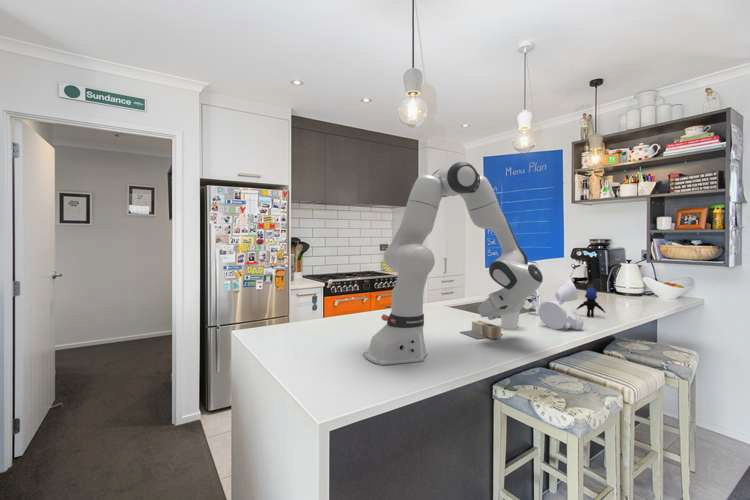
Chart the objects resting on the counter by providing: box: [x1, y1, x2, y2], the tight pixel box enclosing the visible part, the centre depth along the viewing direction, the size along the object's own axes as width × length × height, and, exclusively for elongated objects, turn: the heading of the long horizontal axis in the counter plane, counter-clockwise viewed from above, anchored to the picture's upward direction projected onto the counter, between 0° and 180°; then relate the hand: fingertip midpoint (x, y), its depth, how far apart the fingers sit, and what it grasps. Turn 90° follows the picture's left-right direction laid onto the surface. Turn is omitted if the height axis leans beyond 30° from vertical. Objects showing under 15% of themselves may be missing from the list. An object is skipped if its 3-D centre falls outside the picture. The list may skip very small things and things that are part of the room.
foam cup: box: [500, 309, 521, 330], centre depth 169 cm, size 10×9×13 cm
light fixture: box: [538, 279, 584, 331], centre depth 171 cm, size 25×16×18 cm
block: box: [471, 320, 502, 340], centre depth 156 cm, size 4×5×12 cm
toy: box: [576, 287, 606, 318], centre depth 193 cm, size 13×6×15 cm, turn 58°
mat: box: [459, 329, 504, 340], centre depth 159 cm, size 14×11×1 cm
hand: (490, 318), depth 154 cm, fingers closed
